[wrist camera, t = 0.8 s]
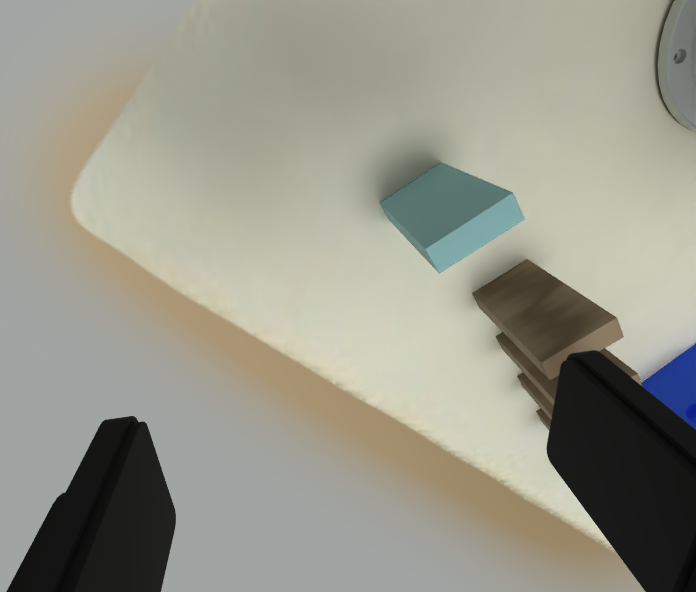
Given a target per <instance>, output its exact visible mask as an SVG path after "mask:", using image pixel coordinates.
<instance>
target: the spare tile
mask: <svg viewBox="0 0 696 592" xmlns="http://www.w3.org/2000/svg"><path fill="white" fill-rule="evenodd" d="M380 205H381V206H382V208H383V210H384V211H385V213H386V215H387V216H388V218H389V220H390V221H391V222H392V224H393V225H394V226H395V227H396V228H397V229H398V230H399V231H400V232H401V233H402V234H403V235H404V236H405V237H406V238H407V240H408V241H409V242H410V243H411V244H412V245H413V246H414V247H415V248H416V249H417V250H418V251H419V252H420V253H421V255H422V256H423V257H424V258H425V259H426V260H427V261H428V262H429V263H430V264H431V265H432V266H433V267H434V268H435V269H436V271H437V272H438V273H441V272H442V271H444V270H446V269H447V268H449V267H450V266H452V265H453V264H455V263H457V262H458V261H460V260H461V259H463V258H465V257H466V256H468V255H469V254H471V253H472V252H474V251H476V250H477V249H479V248H480V247H482V246H483V245H485V244H487V243H488V242H490V241H491V240H493V239H494V238H496V237H498V236H499V235H501V234H502V233H504V232H505V231H507V230H509V229H510V228H512V227H513V226H515V225H516V224H518V223H520V222H521V221H523V220H524V217H523V214H522V212H521V210H520V207H519V205H518V203H517V200H516V198H515V196H514V194H513V192H510V191H508V190H506V189H503V188H501V187H498V186H496V185H494V184H491V183H489V182H487V181H484V180H482V179H479V178H477V177H475V176H472V175H470V174H468V173H465V172H463V171H460V170H458V169H456V168H453V167H451V166H449V165H446V164H444V163H440V164H438V165H436V166H435V167H433V168H432V169H430V170H429V171H427V172H426V173H424V174H423V175H421V176H420V177H418V178H417V179H415V180H414V181H412V182H411V183H409V184H408V185H406V186H405V187H403V188H402V189H400V190H399V191H397V192H396V193H394V194H393V195H391V196H390V197H388V198H387V199H385V200H384V201H382V202H381V203H380Z"/></svg>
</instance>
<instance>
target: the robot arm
mask: <svg viewBox="0 0 696 592" xmlns="http://www.w3.org/2000/svg"><path fill="white" fill-rule="evenodd" d="M658 77H659V85H660V89H661V93H662V97H663V100H664V102H665V104H666V106H667V108H668V109H669V111H670V113H671V114H672V115H673V116H674V117H675V118H676V120H677V121H678V122H679V123H681V124H682V125H684V126H685V127H687V128H689V129H690V130H693V131H696V0H674V2H673V4H672V7H671V9H670V12H669V14H668V17H667V20H666V22H665V25H664V29H663V33H662V37H661V41H660V46H659V57H658ZM547 454H548V458H549V460H550V462H551V464H552V465H553V467H554V468H555V469H556V471H557V472H558V473H559V475H560V476H561V477H562V479H563V480H564V481H565V483H566V484H567V486H568V487H569V488H570V490H571V491H572V492H573V494H574V495H575V496H576V498H577V499H578V500H579V502H580V503H581V505H582V506H583V507H584V509H585V510H586V511H587V513H588V514H589V515H590V517H591V518H592V519H593V521H594V522H595V524H596V525H597V526H598V528H599V529H600V530H601V532H602V533H603V534H604V536H605V537H606V538H607V540H608V541H609V543H610V544H611V545H612V547H613V548H614V549H615V551H616V552H617V553H618V555H619V556H620V557H621V559H622V560H623V562H624V563H625V564H626V565H627V567H628V568H629V570H630V571H631V572H632V574H633V575H634V577H635V578H636V579H637V581H638V582H639V583H640V585H641V586H642V587H643V589H644V590H645V591H646V592H696V430H695V429H694V428H693V427H692V426H690V425H689V424H688V423H687V422H685V421H684V420H683V419H682V418H681V417H679V416H678V415H677V414H676V413H674V412H673V411H672V410H671V409H669V408H668V407H667V406H666V405H665V404H663V403H662V402H661V401H660V400H658V399H657V398H656V397H655V396H653V395H652V394H651V393H650V392H649V391H647V390H646V389H645V388H644V387H642V386H641V385H640V384H639V383H637V382H636V381H635V380H634V379H633V378H631V377H630V376H629V375H628V374H626V373H625V372H624V371H623V370H622V369H620V368H619V367H618V366H617V365H615V364H614V363H613V362H612V361H610V360H609V359H608V358H607V357H606V356H604V355H603V354H602V353H600V352H599V351H596V350H591V351H584V352H577V353H572V354H569V355H568V357H567V359H566V361H563V362H562V363H561V367H560V372H559V378H558V384H557V390H556V396H555V402H554V407H553V413H552V419H551V425H550V431H549V437H548V442H547ZM175 524H176V514H175V508H174V505H173V502H172V499H171V496H170V493H169V490H168V487H167V484H166V481H165V478H164V475H163V472H162V469H161V466H160V463H159V460H158V457H157V454H156V451H155V448H154V445H153V441H152V439H151V435H150V432H149V429H148V426H147V424H146V423H145V422H138V420H137V419H136V418H135V417H134V416H129V417H123V418H115V419H109V420H104V421H103V422H102V423H101V425H100V426H99V428H98V430H97V432H96V434H95V437H94V438H93V440H92V442H91V444H90V446H89V448H88V450H87V452H86V454H85V456H84V458H83V460H82V462H81V464H80V466H79V467H78V470H77V471H76V473H75V475H74V477H73V479H72V481H71V483H70V485H69V487H68V489H67V491H66V493H62V494H61V495H60V496H59V497H58V498H57V499H56V501H55V502H54V503H53V505H52V507H51V509H50V511H49V512H48V514H47V516H46V518H45V520H44V522H43V524H42V526H41V528H40V529H39V531H38V533H37V535H36V537H35V539H34V541H33V543H32V545H31V546H30V548H29V550H28V552H27V554H26V556H25V558H24V560H23V562H22V563H21V565H20V567H19V569H18V571H17V573H16V575H15V577H14V579H13V580H12V582H11V584H10V586H9V588H8V590H7V592H161V588H162V584H163V579H164V575H165V570H166V566H167V561H168V557H169V553H170V548H171V544H172V539H173V535H174V530H175Z"/></svg>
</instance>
